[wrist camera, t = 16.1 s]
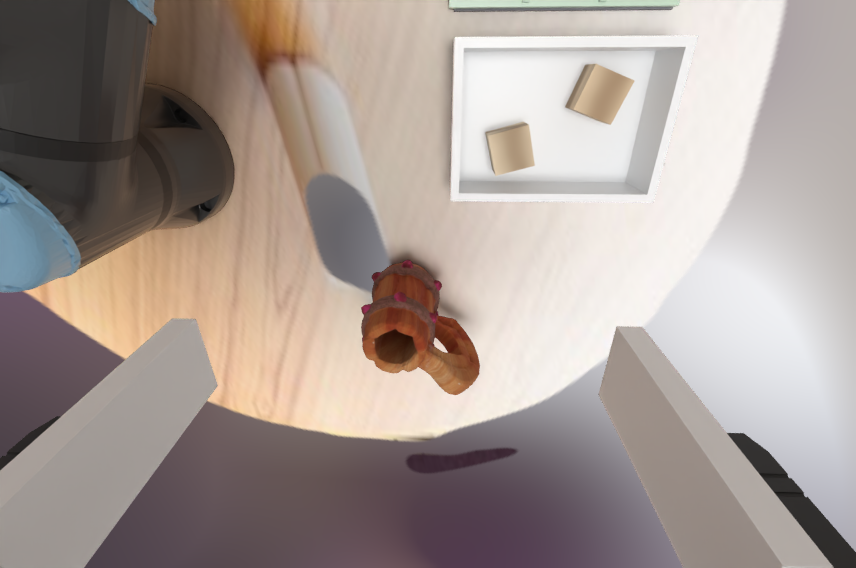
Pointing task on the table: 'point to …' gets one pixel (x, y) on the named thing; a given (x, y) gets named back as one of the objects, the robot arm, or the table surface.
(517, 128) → the part
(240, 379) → the table surface
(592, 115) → the part
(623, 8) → the mat
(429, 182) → the table surface
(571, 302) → the table surface
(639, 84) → the tub
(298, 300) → the table surface
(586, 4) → the lid
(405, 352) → the mug
